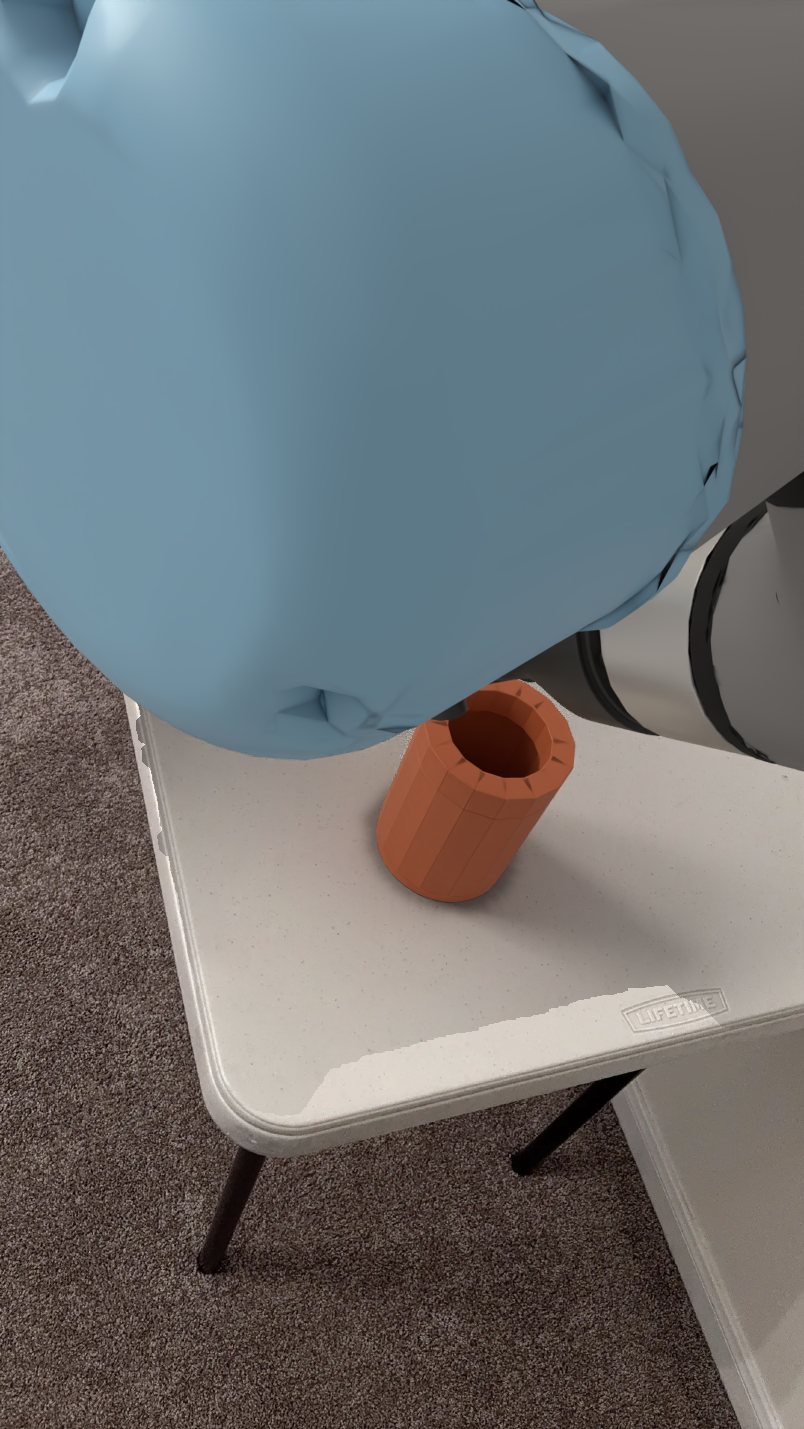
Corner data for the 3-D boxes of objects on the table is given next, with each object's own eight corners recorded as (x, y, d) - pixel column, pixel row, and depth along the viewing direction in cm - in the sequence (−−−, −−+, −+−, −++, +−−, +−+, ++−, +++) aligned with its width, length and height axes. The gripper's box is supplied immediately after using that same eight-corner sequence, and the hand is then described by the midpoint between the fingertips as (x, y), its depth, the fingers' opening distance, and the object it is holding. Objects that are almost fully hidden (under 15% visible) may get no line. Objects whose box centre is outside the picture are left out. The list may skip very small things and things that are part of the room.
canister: (349, 845, 62) (394, 733, 53) (422, 762, 68) (474, 647, 58) (463, 929, 60) (530, 828, 51) (528, 836, 66) (599, 731, 57)
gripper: (385, 912, 28) (200, 769, 47) (963, 588, 36) (608, 578, 55) (291, 667, 25) (137, 622, 44) (931, 383, 34) (572, 447, 53)
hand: (398, 598), depth 50 cm, fingers open, 13 cm apart
